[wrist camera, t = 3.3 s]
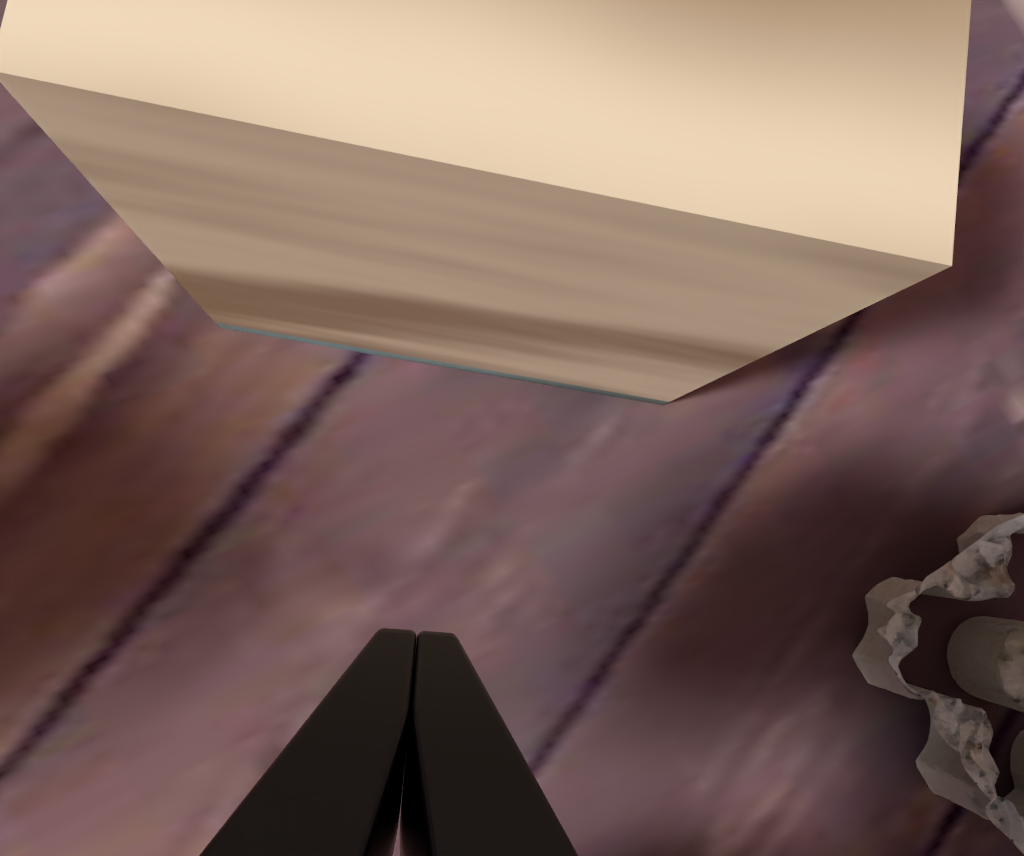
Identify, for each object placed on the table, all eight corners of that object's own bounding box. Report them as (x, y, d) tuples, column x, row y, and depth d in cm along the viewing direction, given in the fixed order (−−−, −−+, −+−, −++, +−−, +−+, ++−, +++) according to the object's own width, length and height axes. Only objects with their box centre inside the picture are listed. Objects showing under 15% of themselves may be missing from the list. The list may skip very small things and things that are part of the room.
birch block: (662, 405, 22) (952, 265, 11) (220, 328, 21) (-11, 70, 9) (683, 234, 23) (976, -73, 11) (257, 149, 22) (86, -301, 10)
